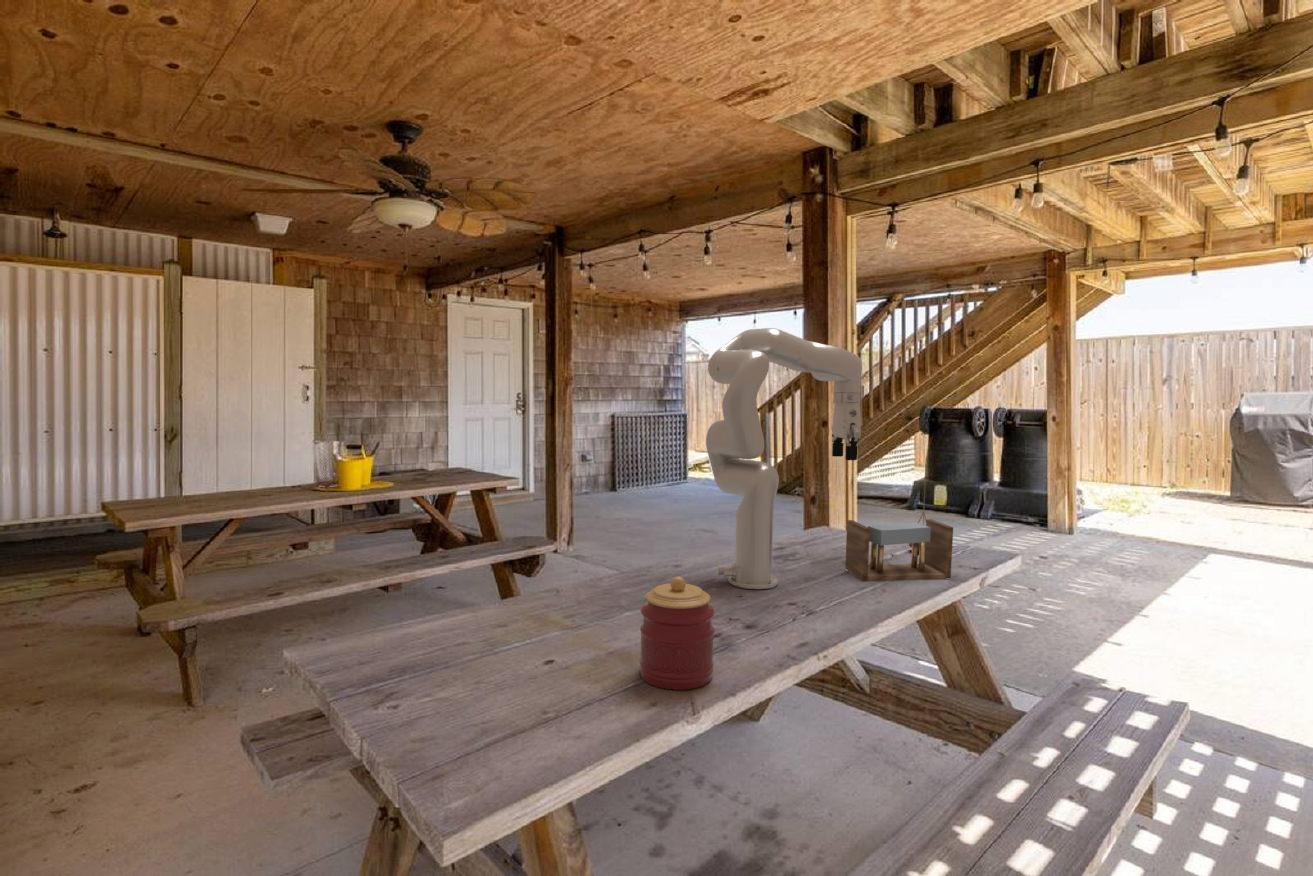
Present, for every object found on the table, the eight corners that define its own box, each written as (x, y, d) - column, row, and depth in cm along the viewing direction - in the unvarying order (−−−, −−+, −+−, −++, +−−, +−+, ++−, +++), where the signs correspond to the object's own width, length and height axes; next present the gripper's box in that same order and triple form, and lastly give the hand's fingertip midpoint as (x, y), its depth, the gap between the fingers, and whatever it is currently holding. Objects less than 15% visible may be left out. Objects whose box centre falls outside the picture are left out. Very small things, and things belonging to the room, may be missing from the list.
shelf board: (915, 537, 194) (915, 523, 193) (930, 541, 188) (930, 527, 188) (867, 540, 189) (867, 526, 188) (880, 545, 183) (881, 530, 183)
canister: (676, 699, 112) (678, 592, 111) (624, 674, 121) (625, 575, 120) (728, 676, 121) (731, 578, 120) (676, 655, 130) (677, 563, 129)
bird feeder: (907, 554, 212) (912, 457, 209) (906, 548, 220) (910, 454, 218) (938, 557, 209) (943, 458, 207) (936, 550, 217) (940, 455, 215)
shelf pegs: (878, 573, 185) (879, 543, 185) (869, 567, 191) (870, 539, 190) (925, 572, 187) (927, 543, 186) (915, 566, 193) (916, 538, 192)
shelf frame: (862, 580, 182) (864, 528, 181) (845, 569, 193) (847, 520, 192) (950, 578, 185) (953, 527, 184) (929, 567, 196) (931, 519, 195)
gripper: (872, 400, 191) (869, 461, 192) (846, 398, 208) (844, 455, 209) (846, 399, 190) (843, 461, 191) (822, 398, 207) (820, 455, 208)
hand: (844, 458), depth 200 cm, fingers open, 9 cm apart
